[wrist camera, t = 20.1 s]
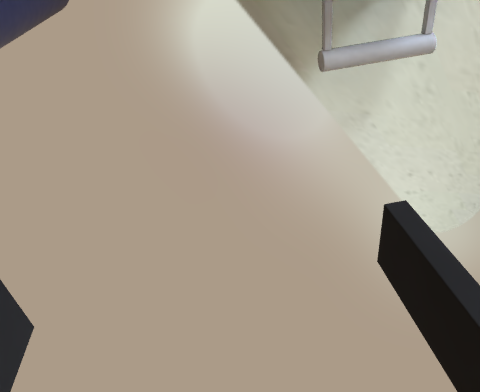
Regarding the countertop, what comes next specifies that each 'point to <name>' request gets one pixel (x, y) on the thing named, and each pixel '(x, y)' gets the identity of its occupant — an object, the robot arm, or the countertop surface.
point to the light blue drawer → (375, 43)
